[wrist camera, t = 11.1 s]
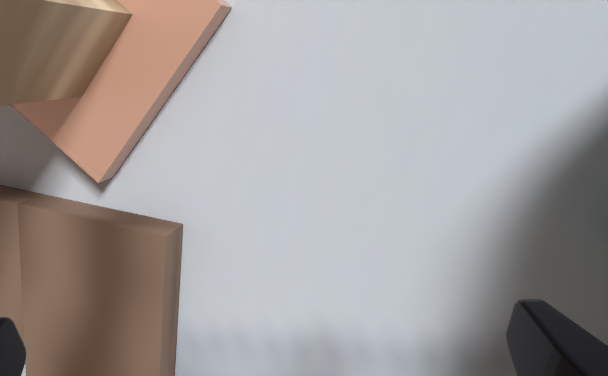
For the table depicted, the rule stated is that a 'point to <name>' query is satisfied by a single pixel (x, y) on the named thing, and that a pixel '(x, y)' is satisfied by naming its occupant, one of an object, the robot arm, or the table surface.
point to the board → (89, 286)
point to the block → (54, 46)
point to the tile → (128, 83)
